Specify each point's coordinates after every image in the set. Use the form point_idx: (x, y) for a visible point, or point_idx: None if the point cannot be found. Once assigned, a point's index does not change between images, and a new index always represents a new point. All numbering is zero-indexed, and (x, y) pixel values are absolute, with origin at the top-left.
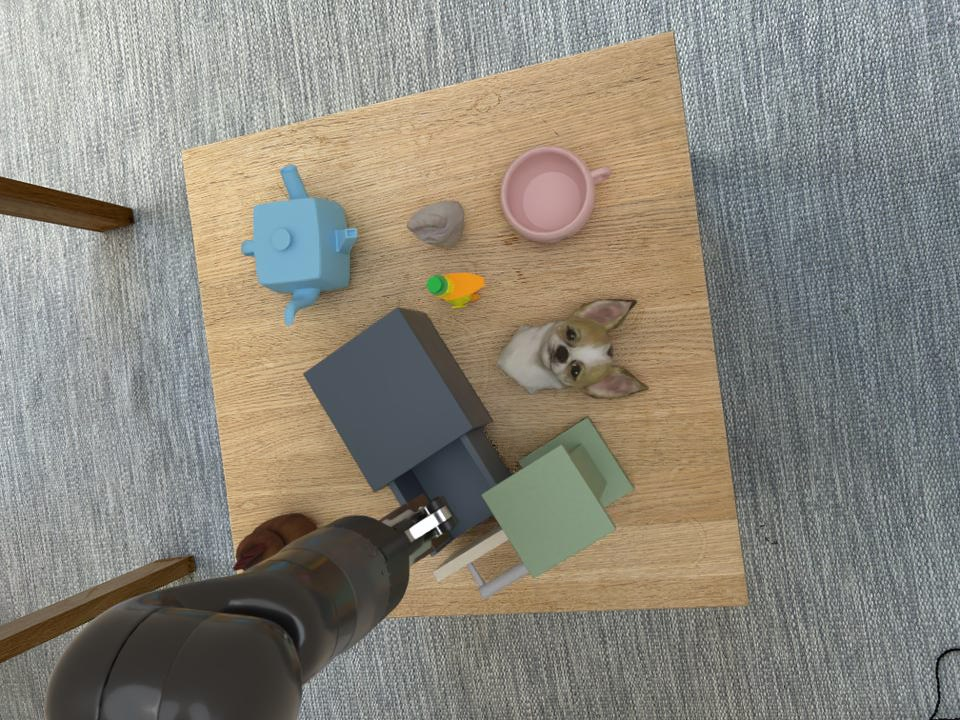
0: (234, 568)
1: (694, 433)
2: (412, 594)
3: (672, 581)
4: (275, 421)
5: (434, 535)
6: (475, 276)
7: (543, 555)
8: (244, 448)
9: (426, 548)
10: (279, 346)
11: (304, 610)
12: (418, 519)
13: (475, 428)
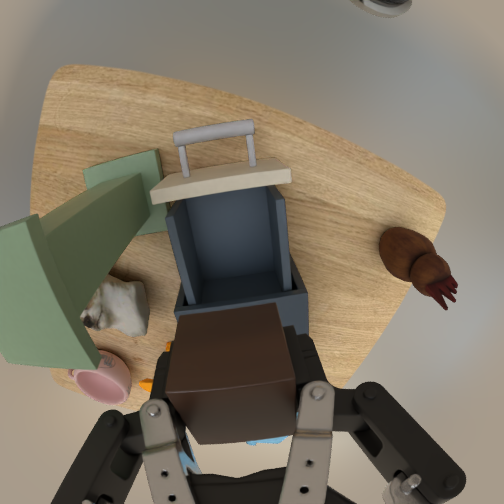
0: (456, 286)
1: (42, 196)
2: (334, 147)
3: (90, 80)
4: (357, 321)
5: (144, 436)
6: (144, 388)
7: (9, 255)
8: (387, 311)
9: (147, 469)
10: (323, 359)
11: None
12: (180, 439)
13: (182, 295)
